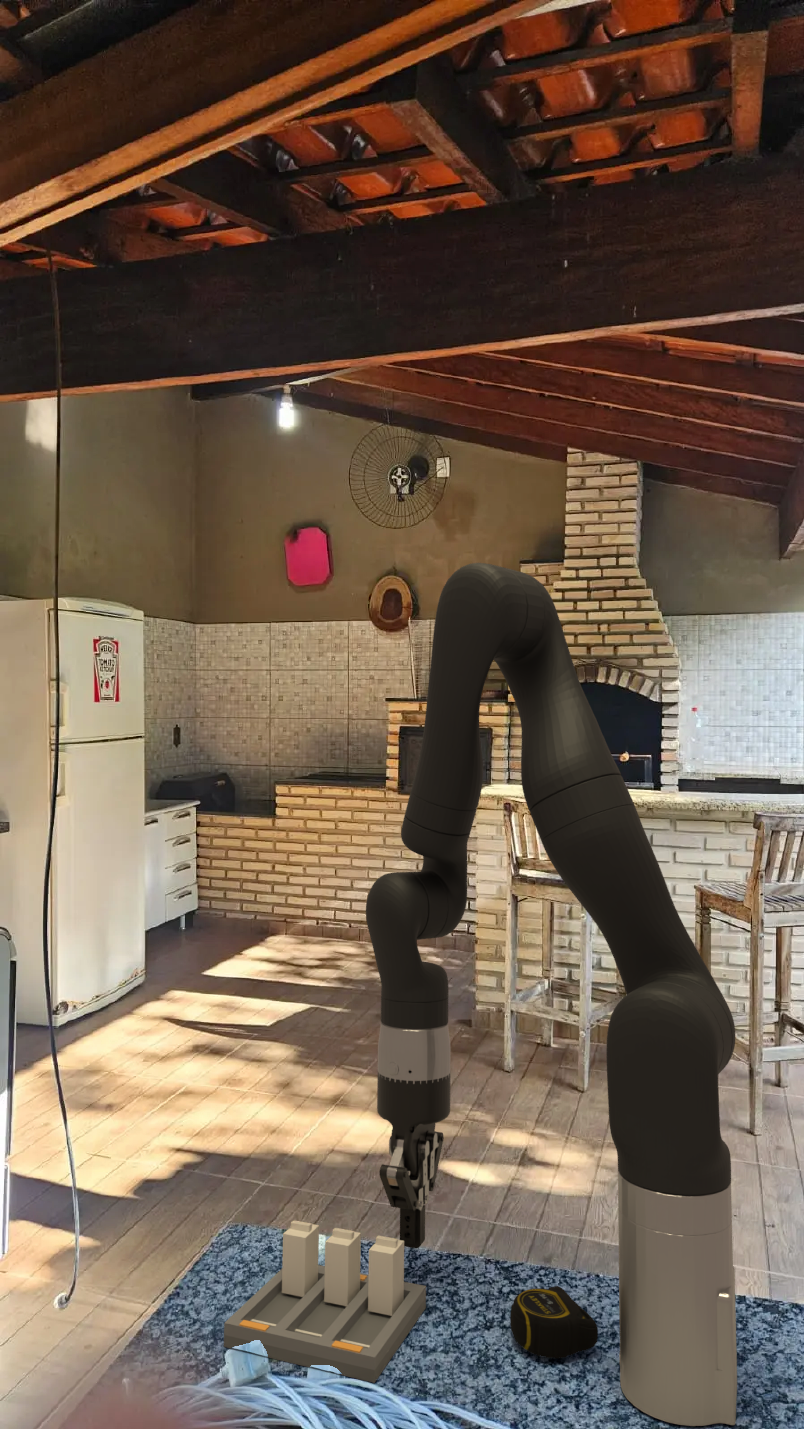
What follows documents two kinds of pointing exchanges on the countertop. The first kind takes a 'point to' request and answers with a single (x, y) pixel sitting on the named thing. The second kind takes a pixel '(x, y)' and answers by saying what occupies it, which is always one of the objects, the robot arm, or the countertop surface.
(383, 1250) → the beige tall block
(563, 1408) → the countertop surface
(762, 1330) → the countertop surface
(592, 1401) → the countertop surface
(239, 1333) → the switch board
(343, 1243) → the beige upright block
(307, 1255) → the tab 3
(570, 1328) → the tape measure
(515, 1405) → the countertop surface
